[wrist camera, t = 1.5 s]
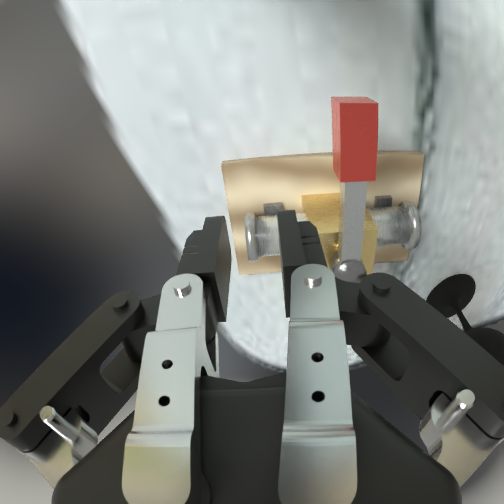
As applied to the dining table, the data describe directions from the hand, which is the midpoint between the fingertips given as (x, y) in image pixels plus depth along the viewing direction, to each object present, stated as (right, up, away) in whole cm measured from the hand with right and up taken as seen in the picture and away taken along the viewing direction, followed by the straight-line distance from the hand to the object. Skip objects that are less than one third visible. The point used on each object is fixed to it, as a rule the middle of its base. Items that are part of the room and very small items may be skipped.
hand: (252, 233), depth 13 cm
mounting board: (+9, +4, +25) cm, 27 cm away
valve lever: (+8, +4, +13) cm, 16 cm away
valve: (+9, +3, +24) cm, 26 cm away
